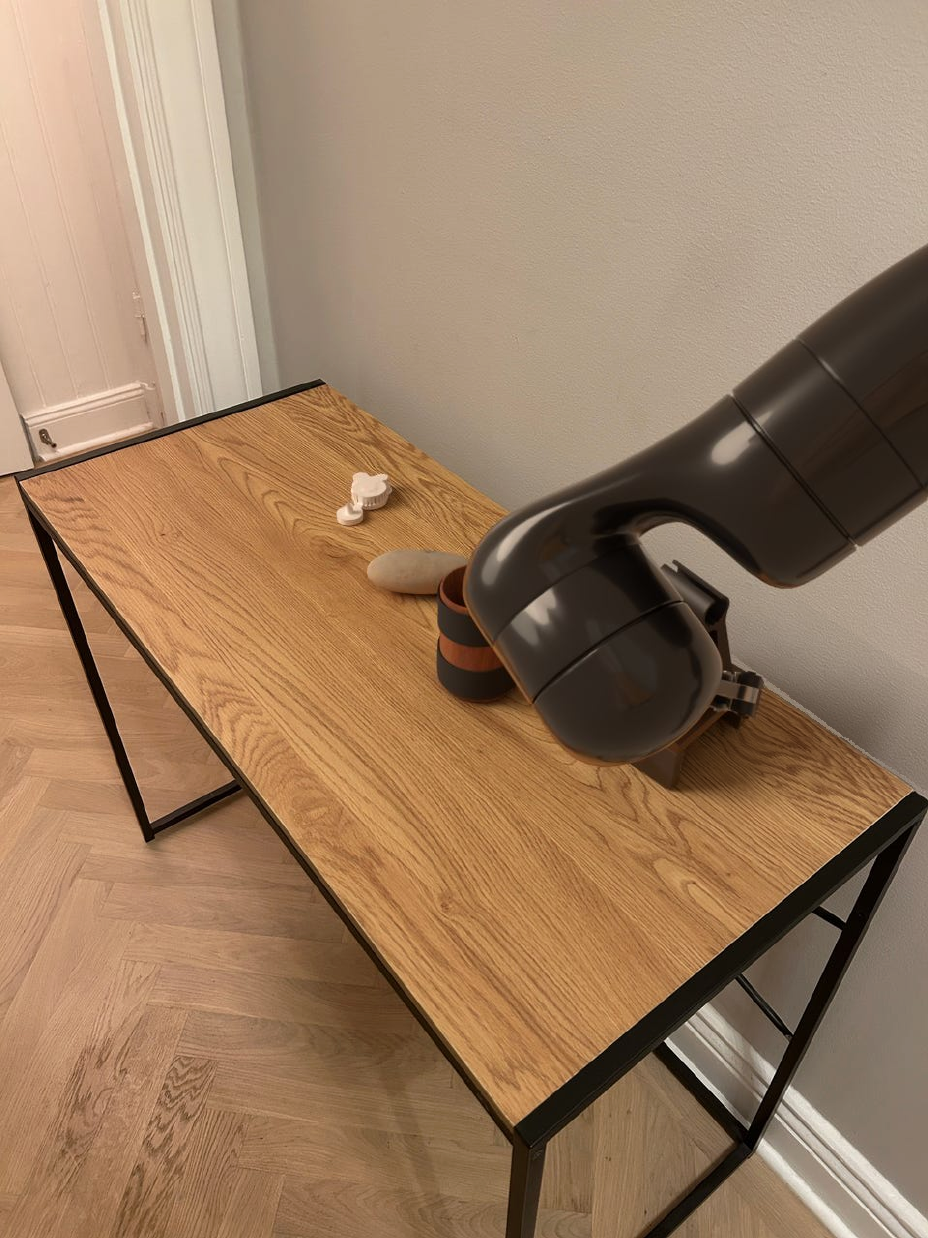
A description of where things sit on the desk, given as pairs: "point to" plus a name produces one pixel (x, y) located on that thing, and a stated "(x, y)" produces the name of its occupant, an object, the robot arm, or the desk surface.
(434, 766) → the desk surface
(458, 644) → the mug
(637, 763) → the shelf
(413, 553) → the stone
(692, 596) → the phone stand
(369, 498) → the white rounded lumpy shapes
